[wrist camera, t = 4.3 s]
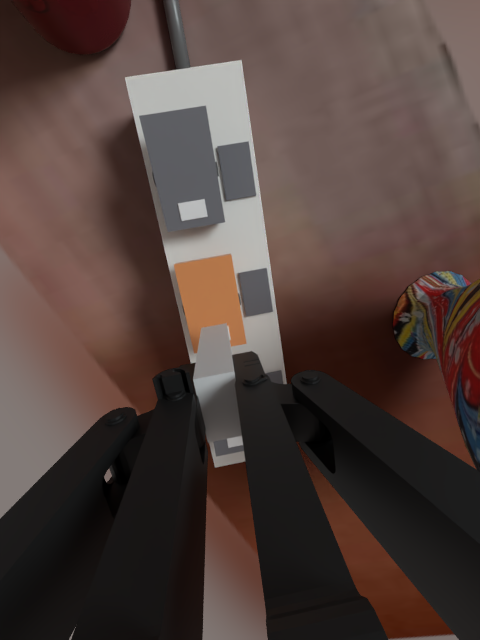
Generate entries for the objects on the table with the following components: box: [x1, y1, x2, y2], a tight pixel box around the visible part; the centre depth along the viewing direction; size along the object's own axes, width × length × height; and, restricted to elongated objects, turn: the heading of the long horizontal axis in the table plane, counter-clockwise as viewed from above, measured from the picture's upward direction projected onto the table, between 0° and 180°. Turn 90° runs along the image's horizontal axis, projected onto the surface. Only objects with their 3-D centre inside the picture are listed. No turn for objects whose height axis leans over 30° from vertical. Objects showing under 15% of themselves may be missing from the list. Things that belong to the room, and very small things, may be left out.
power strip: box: [125, 0, 287, 468], centre depth 20 cm, size 40×7×5 cm, turn 10°
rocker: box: [139, 106, 225, 232], centre depth 17 cm, size 6×4×1 cm, turn 10°
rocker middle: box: [174, 254, 247, 354], centre depth 19 cm, size 6×4×1 cm, turn 9°
